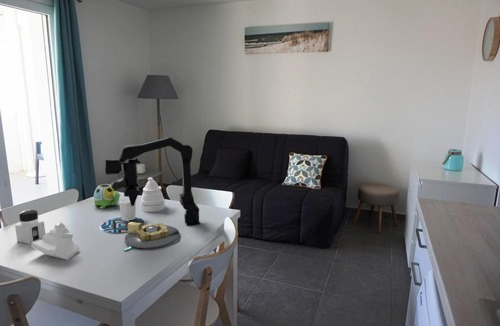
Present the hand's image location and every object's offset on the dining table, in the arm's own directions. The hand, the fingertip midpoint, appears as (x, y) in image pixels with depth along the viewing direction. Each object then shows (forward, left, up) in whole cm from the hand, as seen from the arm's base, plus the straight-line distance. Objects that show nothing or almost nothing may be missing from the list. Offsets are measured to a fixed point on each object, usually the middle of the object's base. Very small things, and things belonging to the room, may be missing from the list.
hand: (132, 205), depth 152 cm
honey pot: (-10, -30, -12) cm, 34 cm away
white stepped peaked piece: (+29, +16, -12) cm, 35 cm away
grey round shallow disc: (-7, +12, -12) cm, 19 cm away
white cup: (+3, -16, -12) cm, 20 cm away
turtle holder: (+14, -43, -12) cm, 47 cm away
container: (+43, -4, -12) cm, 44 cm away
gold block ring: (-6, +11, -10) cm, 16 cm away
